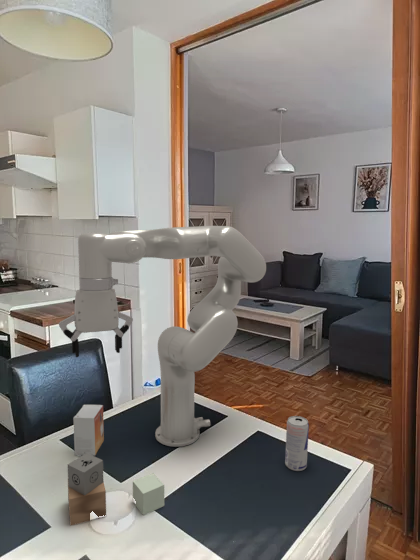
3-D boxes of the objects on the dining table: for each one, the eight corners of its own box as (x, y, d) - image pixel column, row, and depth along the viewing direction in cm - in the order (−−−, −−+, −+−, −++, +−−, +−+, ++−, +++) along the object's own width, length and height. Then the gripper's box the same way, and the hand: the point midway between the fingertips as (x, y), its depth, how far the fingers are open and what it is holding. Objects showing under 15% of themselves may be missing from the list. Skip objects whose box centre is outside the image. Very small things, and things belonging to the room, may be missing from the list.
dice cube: (84, 495, 80) (84, 472, 80) (68, 486, 83) (67, 464, 82) (103, 482, 85) (102, 460, 84) (87, 474, 87) (86, 452, 86)
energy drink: (308, 462, 102) (310, 418, 101) (304, 474, 98) (306, 427, 96) (287, 457, 105) (289, 413, 103) (282, 468, 100) (284, 423, 98)
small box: (95, 456, 104) (94, 418, 102) (74, 455, 104) (72, 417, 103) (104, 440, 112) (103, 404, 110) (84, 439, 112) (83, 403, 110)
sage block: (153, 493, 90) (153, 473, 89) (164, 506, 86) (164, 484, 85) (132, 502, 87) (132, 481, 86) (143, 515, 83) (143, 493, 82)
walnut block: (101, 496, 89) (101, 471, 88) (106, 517, 83) (105, 490, 82) (68, 504, 86) (67, 478, 86) (70, 526, 80) (69, 499, 79)
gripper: (129, 281, 102) (130, 345, 105) (57, 283, 96) (59, 352, 99) (134, 285, 96) (135, 354, 98) (57, 288, 89) (60, 362, 92)
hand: (97, 353), depth 98 cm, fingers open, 9 cm apart
